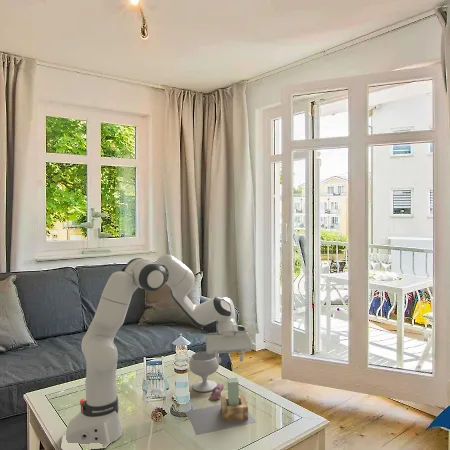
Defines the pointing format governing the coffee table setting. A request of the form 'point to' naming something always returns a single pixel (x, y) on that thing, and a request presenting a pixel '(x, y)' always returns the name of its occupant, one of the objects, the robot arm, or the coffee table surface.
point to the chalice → (203, 370)
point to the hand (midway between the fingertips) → (230, 361)
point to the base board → (213, 420)
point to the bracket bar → (233, 392)
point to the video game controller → (216, 392)
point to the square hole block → (234, 409)
